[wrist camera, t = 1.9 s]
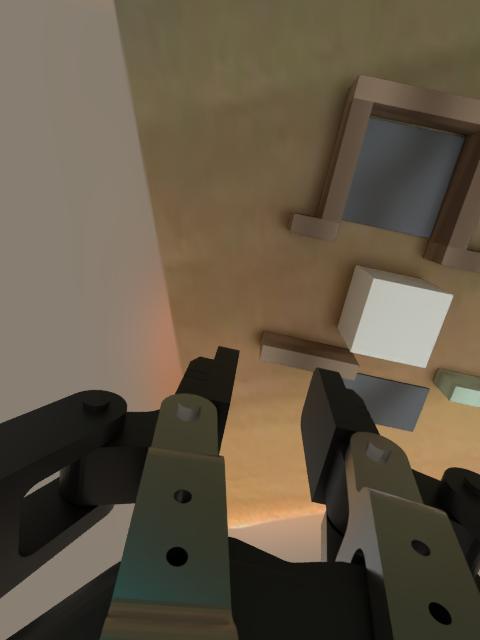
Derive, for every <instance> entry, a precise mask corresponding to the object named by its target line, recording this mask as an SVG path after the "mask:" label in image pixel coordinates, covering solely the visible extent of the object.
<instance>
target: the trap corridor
mask: <svg viewBox="0 0 480 640" xmlns="http://www.w3.org/2000/svg"><path fill="white" fill-rule="evenodd" d="M370 115H373V116H378V117H383V118H387V119H392V120H397V121H401V122H406V123H411V124H416V125H420V126H425V127H430V128H434V129H439V130H444V131H449V132H453V133H458V134H463V135H466V137H465V138H463V137H459V136H454V135H449V134H444V133H440V132H435V131H430V130H425V129H421V128H416V127H411V126H407V125H402V124H397V123H392V122H388V121H383V120H378V119H374V118H370ZM464 139H465V140H464ZM463 142H464V143H463ZM462 144H463V146H462ZM461 147H462V149H461ZM460 150H461V152H460ZM459 153H460V155H459ZM458 156H459V157H458ZM457 159H458V160H457ZM456 162H457V163H456ZM455 164H456V166H455ZM454 167H455V169H454ZM453 170H454V172H453ZM452 173H453V174H452ZM451 176H452V177H451ZM450 179H451V180H450ZM449 182H450V183H449ZM448 184H449V186H448ZM447 187H448V189H447ZM446 190H447V192H446ZM445 193H446V194H445ZM444 196H445V197H444ZM443 199H444V200H443ZM442 201H443V203H442ZM441 204H442V206H441ZM440 207H441V209H440ZM439 210H440V212H439ZM438 213H439V214H438ZM437 216H438V217H437ZM479 216H480V100H478V99H473V98H468V97H464V96H459V95H454V94H450V93H445V92H440V91H435V90H431V89H426V88H421V87H416V86H412V85H407V84H402V83H398V82H393V81H388V80H383V79H379V78H374V77H369V76H364V75H359V76H358V77H357V79H356V80H355V81H354V83H353V84H352V86H351V87H350V88H349V91H348V95H347V99H346V103H345V107H344V111H343V114H342V118H341V122H340V126H339V130H338V134H337V138H336V142H335V146H334V150H333V154H332V158H331V161H330V165H329V169H328V173H327V177H326V181H325V185H324V189H323V193H322V197H321V201H320V204H319V208H318V212H317V216H316V217H312V216H308V215H303V214H298V213H293V212H291V216H290V220H289V225H288V230H289V232H291V233H295V234H300V235H305V236H309V237H314V238H319V239H323V240H328V241H333V242H335V241H336V237H337V234H338V230H339V226H340V223H341V220H345V221H350V222H354V223H359V224H364V225H369V226H373V227H378V228H383V229H387V230H392V231H397V232H401V233H406V234H411V235H416V236H420V237H425V238H430V240H429V243H428V246H427V249H426V251H425V254H424V257H423V258H425V259H427V260H430V261H433V262H436V263H438V264H441V265H445V266H450V267H455V268H459V269H464V270H469V271H474V272H478V273H480V252H477V251H472V250H467V247H468V245H469V242H470V239H471V237H472V234H473V232H474V229H475V226H476V224H477V221H478V219H479ZM436 219H437V220H436ZM435 221H436V223H435ZM434 224H435V226H434ZM433 227H434V229H433ZM432 230H433V231H432ZM431 233H432V234H431ZM430 236H431V237H430ZM259 360H261V361H266V362H270V363H275V364H280V365H284V366H289V367H294V368H298V369H303V370H308V371H312V372H314V370H315V369H316V368H317V367H318V368H323V369H328V370H332V371H337V372H339V373H340V375H341V377H342V378H343V382H344V385H345V387H346V388H348V389H352V390H354V391H355V392H356V393H357V394H358V395H359V396H360V397H361V398H362V399H363V401H364V403H365V405H366V407H367V410H368V411H369V413H370V415H371V418H372V419H373V421H374V424H379V425H383V426H388V427H393V428H397V429H402V430H407V431H411V432H413V430H414V427H415V425H416V422H417V420H418V417H419V415H420V412H421V410H422V407H423V405H424V402H425V400H426V397H427V395H428V392H429V390H430V389H429V388H424V387H420V386H415V385H410V384H406V383H401V382H396V381H392V380H387V379H382V378H378V377H373V376H368V375H364V374H359V373H357V372H358V368H359V364H358V362H357V360H356V359H355V357H354V355H353V353H352V352H350V351H349V349H344V348H339V347H335V346H330V345H325V344H321V343H316V342H311V341H307V340H302V339H297V338H293V337H288V336H283V335H279V334H274V333H269V332H265V331H263V335H262V340H261V344H260V359H259ZM433 383H434V384H435V385H436V386H437V387H438V388H439V390H440V391H441V392H442V393H443V394H444V395H445V396H446V397H447V398H448V400H449V401H452V402H457V403H462V404H466V405H471V406H476V407H480V377H475V376H470V375H466V374H461V373H456V372H452V371H447V370H442V369H438V370H437V373H436V375H435V378H434V380H433Z"/></svg>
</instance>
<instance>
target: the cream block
mask: <svg viewBox="0 0 480 640" xmlns="http://www.w3.org/2000/svg"><path fill="white" fill-rule="evenodd" d="M453 296H454V295H452V294H450V293H448V292H446V291H444V290H443V289H441V288H439V287H437V286H435V285H433V284H431V283H429V282H427V281H425V280H423V279H419V278H414V277H410V276H405V275H400V274H396V273H391V272H386V271H381V270H377V269H372V268H367V267H363V266H358V265H356V266H355V270H354V273H353V276H352V280H351V283H350V287H349V290H348V293H347V297H346V300H345V303H344V307H343V310H342V313H341V317H340V320H339V324H338V327H337V329H338V330H339V332H340V334H341V336H342V338H343V340H344V341H345V343H346V345H347V347H348V349H349V351H350V352H352V353H357V354H362V355H366V356H371V357H376V358H380V359H385V360H390V361H394V362H399V363H404V364H408V365H413V366H418V367H422V368H426V365H427V363H428V360H429V358H430V355H431V352H432V350H433V347H434V345H435V342H436V339H437V337H438V334H439V332H440V329H441V327H442V324H443V321H444V319H445V316H446V314H447V311H448V309H449V306H450V303H451V301H452V298H453Z"/></svg>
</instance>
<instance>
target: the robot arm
mask: <svg viewBox="0 0 480 640" xmlns="http://www.w3.org/2000/svg"><path fill="white" fill-rule="evenodd" d="M239 352H240V351H239V350H235V349H230V348H226V347H221V346H218V349H217V352H216V355H215V358H214V360H213V359H209V358H204V357H198V358H196V359H195V360H193V361H191V362H190V364H189V366H188V368H187V371H186V372H185V374H184V377H183V379H182V381H181V383H180V385H179V387H178V389H177V391H176V393H175V395H171V396H169V397H167V398H165V399H164V400H163V401H162V404H161V407H160V409H159V410H156V411H150V412H127V403H126V401H125V400H124V399H123V398H122V397H121V396H119V395H117V394H115V393H112V392H108V391H103V390H88V391H82V392H79V393H76V394H73V395H71V396H68V397H66V398H63V399H61V400H58V401H56V402H53V403H51V404H48V405H46V406H43V407H41V408H38V409H36V410H33V411H31V412H28V413H26V414H23V415H21V416H18V417H16V418H13V419H11V420H8V421H6V422H3V423H1V424H0V598H1V597H3V596H4V595H5V594H6V593H8V592H9V591H10V590H11V589H13V588H14V587H15V586H17V585H18V584H19V583H20V582H22V581H23V580H24V579H26V578H27V577H28V576H30V575H31V574H32V573H33V572H35V571H36V570H37V569H38V568H40V567H41V566H42V565H44V564H45V563H46V562H47V561H49V560H50V559H51V558H53V557H54V556H55V555H56V554H58V553H59V552H60V551H62V550H63V549H64V548H65V547H66V546H68V545H69V544H70V543H72V542H73V541H74V540H76V539H77V538H78V537H79V536H81V535H82V534H83V533H84V532H86V531H87V530H88V529H90V528H91V527H92V526H93V525H95V524H96V523H97V522H99V521H100V520H101V519H102V518H104V517H105V516H106V515H107V514H108V513H110V511H111V510H112V509H113V507H114V504H130V503H135V507H134V511H133V515H132V519H131V523H130V527H129V531H128V535H127V539H126V543H125V548H124V551H123V556H122V560H121V561H120V562H118V563H117V564H115V565H113V566H112V567H110V568H109V569H108V570H106V571H105V572H103V573H102V574H100V575H99V576H98V577H96V578H95V579H93V580H92V581H90V582H89V583H87V584H86V585H84V586H83V587H81V588H80V589H79V590H77V591H76V592H74V593H73V594H71V595H70V596H68V597H67V598H66V599H64V600H63V601H61V602H60V603H58V604H57V605H55V606H54V607H53V608H51V609H50V610H48V611H47V612H45V613H44V614H42V615H41V616H40V617H38V618H37V619H35V620H34V621H32V622H31V623H29V624H28V625H27V626H25V627H24V628H22V629H21V630H19V631H18V632H17V633H15V634H13V635H12V636H11V637H9V638H8V639H6V640H480V576H479V575H478V574H477V573H478V572H479V570H480V475H479V474H477V473H475V472H472V471H470V470H467V469H463V468H456V467H454V468H448V469H447V470H446V471H445V472H444V475H443V477H442V479H441V481H439V480H437V479H435V478H432V477H430V476H427V475H425V474H422V473H420V472H417V471H415V470H413V469H411V466H410V463H409V461H408V458H407V455H406V454H405V452H404V451H403V450H402V449H401V448H400V447H399V446H398V445H397V444H395V443H394V442H392V441H391V440H389V439H387V438H385V437H383V436H380V434H379V432H378V430H377V428H376V426H375V424H374V421H373V419H372V418H371V415H370V413H369V411H368V410H367V407H366V405H365V403H364V401H363V399H362V398H361V397H360V396H359V395H358V394H357V393H356V392H355V391H354V390H352V389H348V388H346V387H345V385H344V382H343V380H342V377H341V375H340V373H339V372H337V371H332V370H328V369H323V368H318V367H317V368H316V369H315V370H314V373H313V376H312V379H311V383H310V386H309V390H308V393H307V397H306V400H305V404H304V407H303V411H302V416H301V433H302V440H303V446H304V453H305V460H306V467H307V474H308V480H309V487H310V494H311V501H312V502H316V503H320V504H325V505H326V512H325V515H324V518H323V521H322V524H321V562H307V563H306V562H304V563H291V562H287V561H284V560H282V559H280V558H277V557H275V556H273V555H271V554H269V553H267V552H264V551H262V550H260V549H258V548H256V547H254V546H251V545H249V544H247V543H244V542H243V541H240V540H238V539H236V538H232V537H228V526H227V504H226V482H225V461H224V456H219V452H220V447H221V443H222V438H223V434H224V429H225V425H226V420H227V415H228V411H229V406H230V401H231V396H232V390H233V385H234V379H235V374H236V368H237V363H238V358H239ZM59 470H60V477H58V478H57V479H55V480H53V481H52V482H50V483H48V484H47V485H45V486H43V487H41V488H40V489H38V490H36V491H35V492H33V493H32V494H30V495H28V496H26V497H25V498H24V496H25V495H26V493H27V492H28V491H29V490H30V489H31V488H32V487H33V486H34V485H36V484H37V483H38V482H40V481H42V480H44V479H45V478H47V477H49V476H50V475H52V474H54V473H56V472H57V471H59Z"/></svg>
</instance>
